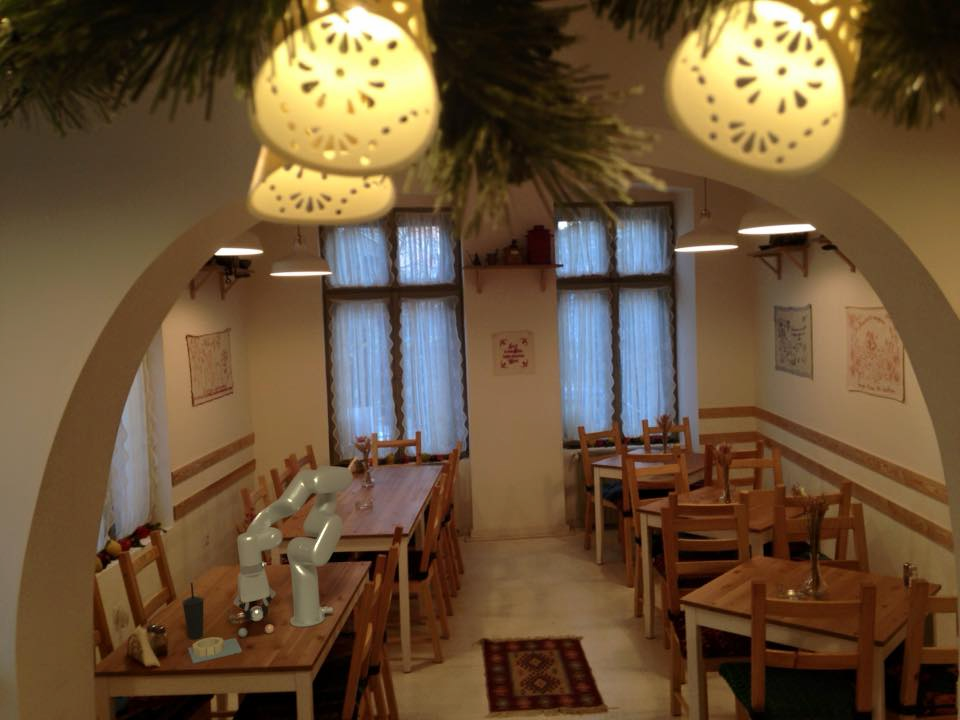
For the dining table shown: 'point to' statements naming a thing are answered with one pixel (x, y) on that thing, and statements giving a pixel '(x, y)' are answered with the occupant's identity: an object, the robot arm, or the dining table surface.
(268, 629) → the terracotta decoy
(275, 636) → the dining table surface
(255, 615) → the steel ball
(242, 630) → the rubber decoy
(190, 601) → the drinking cup
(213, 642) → the bearing housing
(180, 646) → the dining table surface
